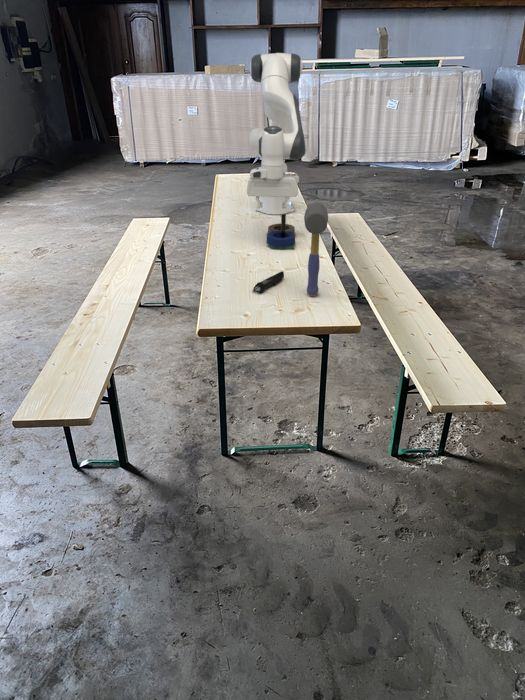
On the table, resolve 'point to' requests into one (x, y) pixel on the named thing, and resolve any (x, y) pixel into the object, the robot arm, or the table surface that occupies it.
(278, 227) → the walnut ring
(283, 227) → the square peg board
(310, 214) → the rubber mallet
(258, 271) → the table surface
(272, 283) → the electric trimmer
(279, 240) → the navy ring
